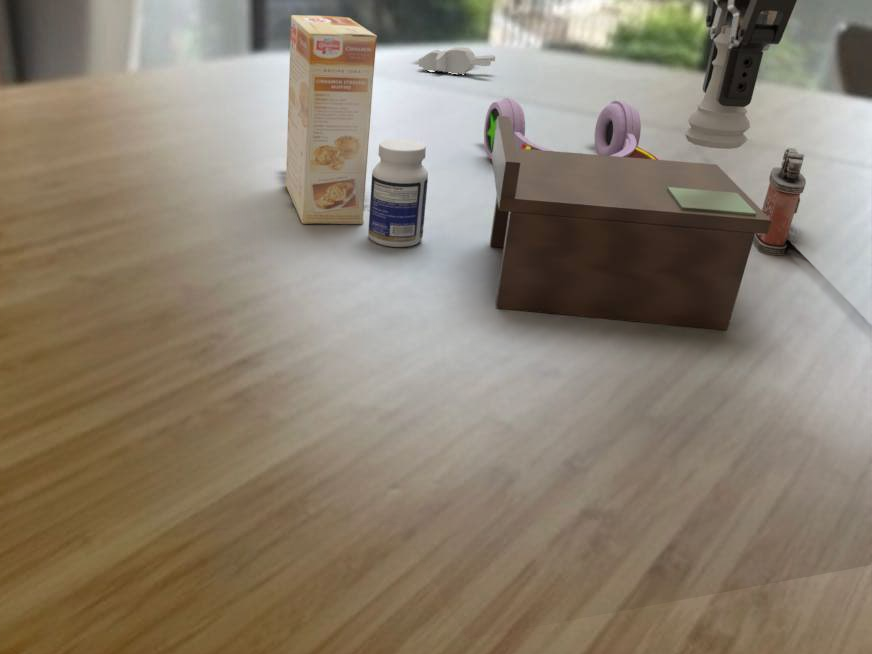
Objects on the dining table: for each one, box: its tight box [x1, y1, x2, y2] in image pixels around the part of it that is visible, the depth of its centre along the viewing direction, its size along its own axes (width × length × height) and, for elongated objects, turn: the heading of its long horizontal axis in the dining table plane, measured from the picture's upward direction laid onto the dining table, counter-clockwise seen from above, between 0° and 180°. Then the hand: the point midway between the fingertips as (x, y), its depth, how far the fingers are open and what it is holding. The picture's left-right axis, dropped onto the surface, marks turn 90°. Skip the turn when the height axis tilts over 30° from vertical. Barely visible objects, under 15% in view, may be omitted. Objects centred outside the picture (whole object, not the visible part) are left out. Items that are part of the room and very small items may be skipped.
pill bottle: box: [367, 138, 429, 248], centre depth 93 cm, size 6×6×10 cm
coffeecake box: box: [285, 14, 378, 225], centre depth 100 cm, size 15×7×20 cm, turn 9°
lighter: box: [752, 147, 807, 256], centre depth 98 cm, size 8×3×10 cm, turn 161°
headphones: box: [483, 97, 659, 160], centre depth 120 cm, size 20×10×20 cm
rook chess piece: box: [684, 25, 751, 150], centre depth 65 cm, size 4×4×8 cm
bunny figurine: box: [418, 46, 496, 75], centre depth 187 cm, size 10×5×15 cm
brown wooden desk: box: [489, 116, 772, 331], centre depth 84 cm, size 22×18×13 cm
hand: (724, 98), depth 66 cm, fingers closed on rook chess piece, 3 cm apart
